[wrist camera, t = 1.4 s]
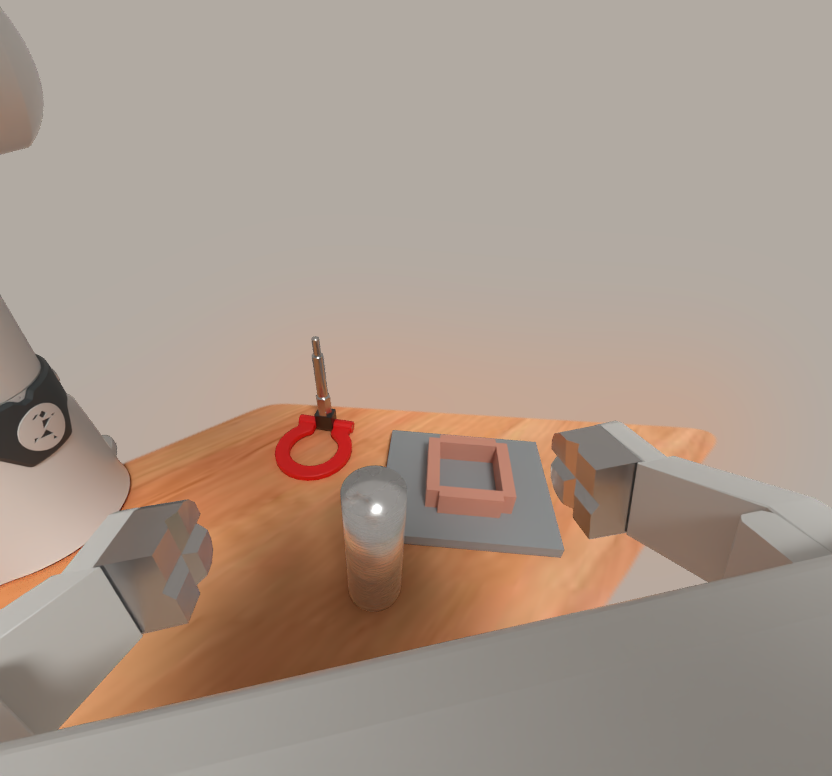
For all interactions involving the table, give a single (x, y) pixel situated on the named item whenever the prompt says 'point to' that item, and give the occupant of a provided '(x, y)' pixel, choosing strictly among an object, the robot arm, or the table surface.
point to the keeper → (475, 494)
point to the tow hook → (307, 426)
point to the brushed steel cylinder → (374, 535)
